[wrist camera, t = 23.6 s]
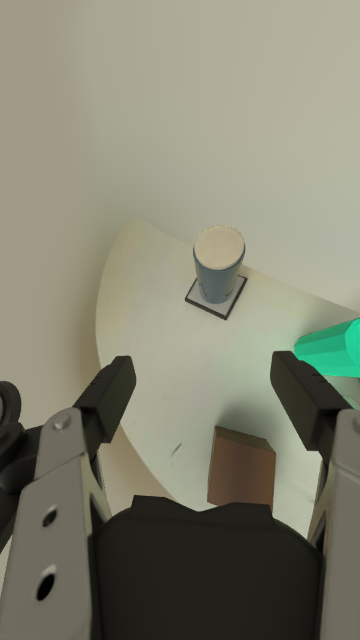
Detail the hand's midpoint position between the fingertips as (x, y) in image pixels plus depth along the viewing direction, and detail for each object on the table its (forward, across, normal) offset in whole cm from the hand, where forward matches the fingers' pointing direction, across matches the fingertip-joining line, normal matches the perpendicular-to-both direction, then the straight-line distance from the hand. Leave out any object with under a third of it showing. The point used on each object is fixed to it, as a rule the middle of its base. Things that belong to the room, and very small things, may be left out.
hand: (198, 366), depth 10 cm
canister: (+22, -3, +1) cm, 22 cm away
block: (+7, -4, +22) cm, 23 cm away
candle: (+15, -17, +10) cm, 25 cm away
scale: (+23, -3, +1) cm, 23 cm away
